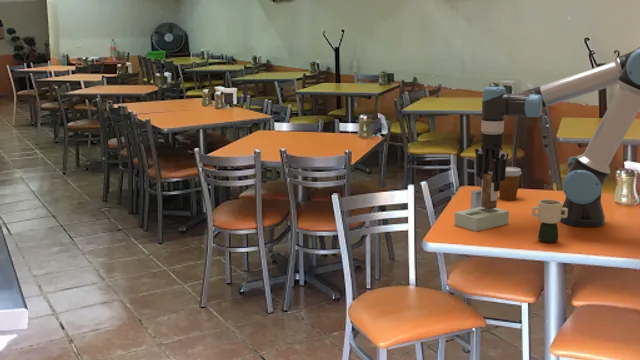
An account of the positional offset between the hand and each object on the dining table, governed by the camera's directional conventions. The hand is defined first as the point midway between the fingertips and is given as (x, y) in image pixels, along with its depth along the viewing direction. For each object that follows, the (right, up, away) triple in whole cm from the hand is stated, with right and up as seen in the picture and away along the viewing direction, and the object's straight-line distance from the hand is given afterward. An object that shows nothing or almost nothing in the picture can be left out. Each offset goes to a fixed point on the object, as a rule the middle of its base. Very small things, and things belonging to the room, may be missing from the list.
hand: (489, 198), depth 254 cm
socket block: (-3, -9, 0) cm, 9 cm away
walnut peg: (0, -3, +1) cm, 3 cm away
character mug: (+14, -13, -19) cm, 27 cm away
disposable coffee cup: (+16, -1, +36) cm, 39 cm away
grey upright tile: (-1, -6, +13) cm, 14 cm away
